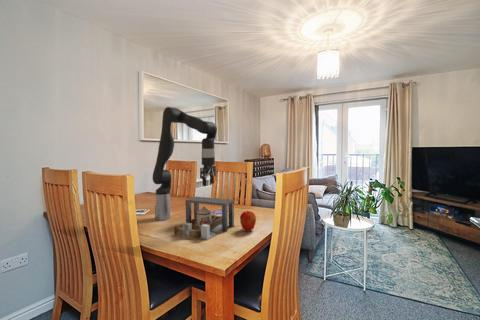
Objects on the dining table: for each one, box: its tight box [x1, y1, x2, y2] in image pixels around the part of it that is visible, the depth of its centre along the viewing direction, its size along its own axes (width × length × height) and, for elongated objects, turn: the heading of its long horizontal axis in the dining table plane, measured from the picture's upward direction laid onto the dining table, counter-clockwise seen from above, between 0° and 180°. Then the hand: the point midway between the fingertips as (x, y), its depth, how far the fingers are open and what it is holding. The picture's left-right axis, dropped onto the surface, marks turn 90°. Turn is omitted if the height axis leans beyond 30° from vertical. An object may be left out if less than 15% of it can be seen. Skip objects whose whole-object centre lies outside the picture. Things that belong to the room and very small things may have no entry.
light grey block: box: [199, 224, 216, 241], centre depth 125 cm, size 4×8×7 cm, turn 157°
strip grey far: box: [211, 225, 222, 234], centre depth 136 cm, size 4×11×1 cm, turn 157°
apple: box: [239, 210, 257, 232], centre depth 134 cm, size 9×9×12 cm
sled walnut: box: [174, 214, 222, 240], centre depth 138 cm, size 16×30×7 cm, turn 157°
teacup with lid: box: [196, 206, 217, 229], centre depth 144 cm, size 12×9×12 cm
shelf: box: [185, 196, 235, 233], centre depth 142 cm, size 27×11×16 cm, turn 67°
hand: (208, 184), depth 134 cm, fingers open, 8 cm apart
